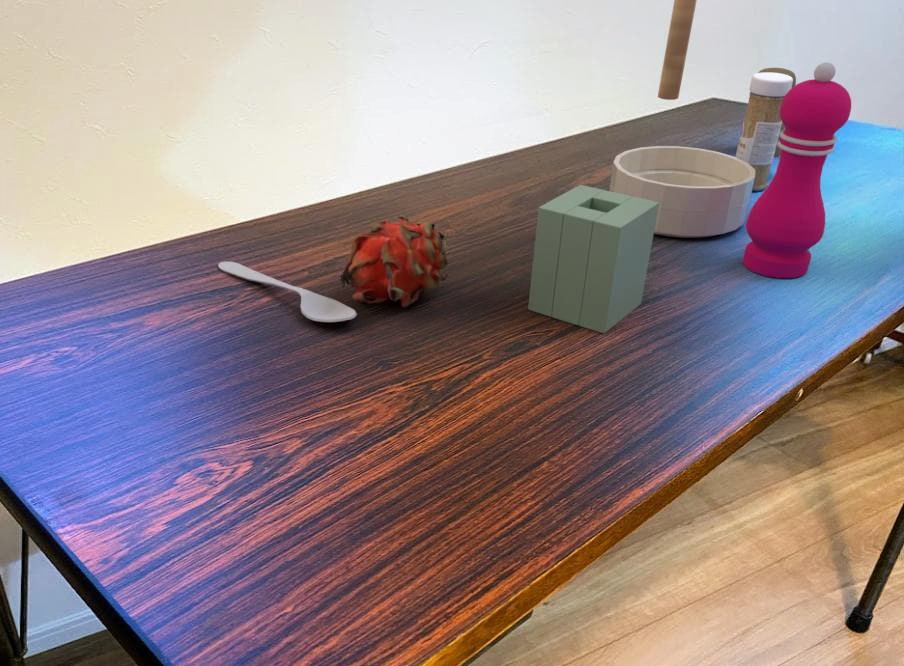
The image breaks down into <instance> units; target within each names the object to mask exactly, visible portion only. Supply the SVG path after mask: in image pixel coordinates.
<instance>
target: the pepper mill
mask: <svg viewBox="0 0 904 666" xmlns="http://www.w3.org/2000/svg"><path fill="white" fill-rule="evenodd" d="M835 75H836V67H835V66H834V64H832V63H831V62H822V63H820V64H818V65H817V66H816V67H815V68H814V71H813V77H814V79H808V80H807V79H806V80H804V81H801V82H799V83H796V84H795V86H794V87H792V88H791V89H790V90H789V91H788V93H787V94H786V95H785V97H784V99H783V101H782V104H781V107H780V118H781V120H782V122H783V124H784V126H785V130H782V131H781V132H780V140H779V141H778V143H777V145H778V147H779V148H780V149H781V153H780V156H779V161H778V164H777V167H776V171H775V173H774V175H773V177H772V179H771V181H770V183H769V184H767V187H766V188H765V189H764V191H763V192H762V193H761V194H760V196H759V197H758V199H756V201H755V202H754V203H753V206H752V207H751V209H750V211H749V213H748V216H747V219H746V222H745V230H746V232H747V235H748V237H749V238H750V240H751V241H750V242H748V243H747V244H746V245H745V248H744V252H743V256H742V264H743V266H744V267H745V268H746V269H747V270H748V271H750V272H753V273H754V274H755V273H756V274H758V275H760V276H765V277H767V278H774V279H795V278H800V277H802V276H804V275H805V274H807V272H808V270H809V266H810V263H811V260H812V253H811V252H810V251H809V249H811V248H813V247H814V246H816V245H817V244H819V242H820V241H821V240H822V239H823V236H824V235H825V227H826V210H825V205H824V201H823V200H824V199H823V196H822V189H821V178H822V173H823V168H824V165H825V163H826V160H827V158H828V155H831V154H833V152H834V151H835V143H837V141H838V138H837V136H836V135H835V134H836V133H837V132H838V131H839V130H841V128H843V127H844V126H845V124H846V123H847V122H848V121H849V118H850V116H851V112H852V99H851V98H852V97H851V95H850V93H849V92H848V90H847V89H846V88H845V87H844V86H843V85H841V83H839V82H836V81H833V79H834V78H835Z"/></svg>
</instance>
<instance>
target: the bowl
mask: <svg viewBox="0 0 904 666" xmlns="http://www.w3.org/2000/svg"><path fill="white" fill-rule="evenodd" d="M754 179H755V169H754V168H753V167H752V166H751V165H750V164H749V163H747V162H745V161H743V160H740V159H738V158H736V156H733V155H729V154H728V153H727V154H726V153H723V152H720V151H716V150H710V149H706V148H705V149H704V148H699V147H690V146H679V145H656V146H654V145H653V146H643V147H637V148H634V149H627V150H624V151H623V152H621V153H619V154H617V155H616V156H615V158H614V159H613V162H612V169H611V176H610V182H609V190H608V191H610V192H615V193H619V194H624V195H628V196H632V197H637V198H642V199H646V200H650V201H655V202H659V207H658V212H657V218H656V223H655V229H654V235H659V236H663V237H671V238H686V239H689V238H691V239H692V238H693V239H694V238H709V237H713V236H714V237H715V236H718V235H724V234H726V233H727V234H728V233H730V232H733V231H736V230H738V229H739V228H740V227H741V226H743V225H744V224H745V223H746V222H745V221H746V218H747V214H748V210H749V209H748V208H749V205H750V200H751V196H752V192H753V191H752V188H753V184H754Z"/></svg>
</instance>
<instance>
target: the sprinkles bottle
mask: <svg viewBox="0 0 904 666" xmlns="http://www.w3.org/2000/svg"><path fill="white" fill-rule="evenodd" d="M792 83H793V78H792V77H791V76H789V75H785V74H781V73H772V72H763V73H758V72H757V73H754V74H752V76H751V81H750V84H749V97H748V101H747V105H746V111H745V115H744V119H743V121H742V126H741V130H740V131H741V132H740V135H739V140H738V142H739V144H738V143H737V145H738V148H737V147H736V148H737V150H736V154H735V157H736V158H738V159H740V160H743V161H745V162H747V163H749V164H750V165H751V166H752V167H753V168H754V169H755V179H754V184H753V188H752V192H753V191H754V192H758V191H762V190H766V188H767V187H768V178H769V175H770V170H771V167H772V163H773V162H774V158H775V157H774V153H775V149H776V145H777V141H778V137H779V133H780V129H781V125H782V120H781V118H780V107H781V104H782V101H783V99H784V97H785V95H786V94H787V93H788V91H789V90H790V89H791V88H792Z"/></svg>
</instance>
